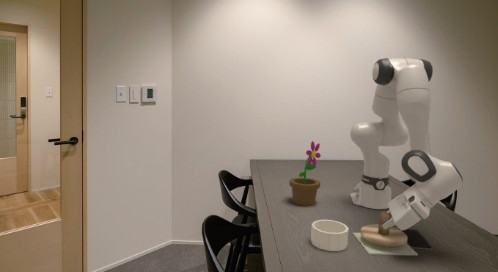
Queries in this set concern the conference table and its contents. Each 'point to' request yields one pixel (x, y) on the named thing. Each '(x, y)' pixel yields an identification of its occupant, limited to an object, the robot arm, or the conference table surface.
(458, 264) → the conference table surface
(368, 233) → the lid
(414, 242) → the smartphone
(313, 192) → the flowerpot
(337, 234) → the bowl
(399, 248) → the mat
